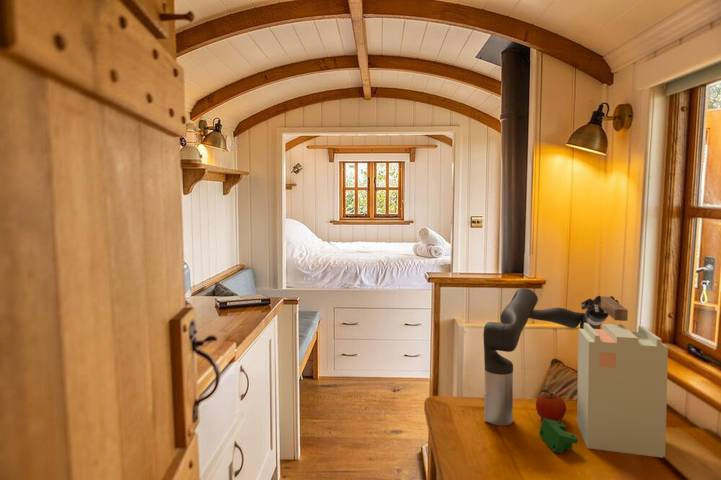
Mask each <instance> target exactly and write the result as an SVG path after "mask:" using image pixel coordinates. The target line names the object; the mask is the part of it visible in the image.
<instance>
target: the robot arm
mask: <svg viewBox="0 0 721 480" xmlns="http://www.w3.org/2000/svg"><path fill="white" fill-rule="evenodd" d="M600 296H601V295H597V296H595V298H593V299H592V298H588V299H586V300H584V301H581V304H580V306H581V308H580V309H581V310H585V312H577V311H574V310H570V309H567V308H564V307H551V308H547V309H545V308H544V309H535V308H536V306H537V303H538V300H539V299H538V295H537V293H535V292H534V291H533V290H531V289H530V288H526V287H521V288H518V289H517V290H515V293H514V294H513V296H512V298H511V301H510V302H509V303H508V304H507V305H506V307H504V309H503V311H502V312H501V314H500V317H499V318H500V319H499V320H500V322H497V321H496V322H493V321H488V322H486V323H485V325H484V328H483V336H482V337H483V339H482V340H483V355H484V357H483V359H484V394H483V395H484V404H483V405H484V408H483V410H484V411H483V414H484V415H483V416H484V417H483V418H484V419H483V420H484V422H485V423H489V424H491V425H495V426H510V425H512V424H513V422H514V364H513V362H512V360H509V359H508V358H506V357H504V356H503V355H501V354H500V353H499V352H506V353H510V352H511V353H512V352H514V351H515V350H516V348H517V346H518V344H519V340H520V337H521V334H522V333H523V330H524V328H525V327H526V325H527V323H528V321H529V319H531V320H537V321H544V322H551V323H554V324H557V325H559V326H560V325H561V326H564V327H566V328H569V329H575V328H578V326H579V329H584V323H588V324H589V325H590V326H591V327H592V328H593V329H601V325H603V324H604V322H605V321H606V319H607V318H608V317H609V315H608V314H607V313H606V312H605V311H604V310H603V309H602V308H601V307H599V306H598V304H599V303H600V302H601V297H600ZM609 297H610V298H612V299H613V300H615V301H616V302H617V303H619V304H620V301H619V300H617V299H615V297H614V296H613V295H612V296H611V295H610V296H609ZM497 351H498V352H497Z"/></svg>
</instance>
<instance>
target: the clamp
mask: <svg viewBox="0 0 721 480" xmlns="http://www.w3.org/2000/svg"><path fill="white" fill-rule="evenodd" d="M539 437H540V439H542V441H544V443H545V444H546V445H547V447H548V448H549V449H550V450H551V451H552V452H553V453H558V454H563V452H564V449H566V450H570V451H571V450H572V448H573V444H575V445H576V444H578V440H579V438H578V436H576V435H575V434H574V433H571V432H570V433H569V432H567V426H566V425H565V424H564V423H563V422H561V421H555V420H550V419H546V418H543V419H542V422H541V425H540V428H539Z"/></svg>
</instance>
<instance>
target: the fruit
mask: <svg viewBox="0 0 721 480" xmlns="http://www.w3.org/2000/svg"><path fill="white" fill-rule="evenodd" d="M539 393H542V394H540V395H539V396H538V397H537V398H536V401H535V409H536V412H537V414H538V416H539V417H540V419H542V420H543V418H546V419H550V420H555V421H559V422H561V420H562V419H563V418H564V417H565V415H566V412H567V405H566V401H565V400H564V399H563V398H562V396H560V395H556V394H554V393H553V392H550V390H548V389H542V390H540V391H539Z"/></svg>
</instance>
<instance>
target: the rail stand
mask: <svg viewBox="0 0 721 480" xmlns="http://www.w3.org/2000/svg"><path fill="white" fill-rule="evenodd" d="M637 329H638V330H637V331H630V330H629V329H628V328H627V327H626V326H625V325H623V324H614V323H613V324H610V323H602V329H601V328H600V329H593V328H592V327H591V326H590V325H589V324H588V323H584V329H580V328H578V329H577V331H578V333H577V334H578V338H577V339H578V340H577V347H578V348H577V393H576V394H577V398H576V399H577V402H576V403H577V404H576V405H577V406H576V410H577V411H576V414H577V415H576V425H577V427H578V429H579V431H580V434H581V436H582V438H583V441H584V444H585V447H586V449H590V450H591V449H593V450H599V451H607V452H615V453H624V454H631V455H638V456H647V457H656V458H663V456H665V457H666V445H667V444H666V439H667V437H666V436H667V429H666V428H667V401H668V396H667V395H668V357H669V354H668V353H669V347H668V345H666V344H665V343H663V342H662V340H663V339H662V338H661V337H659V336H657V335H656V334H654V333H653V332H651V331H650V330H649V329H647V327H645V326H643V325H638V328H637ZM663 459H664V458H663Z"/></svg>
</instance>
